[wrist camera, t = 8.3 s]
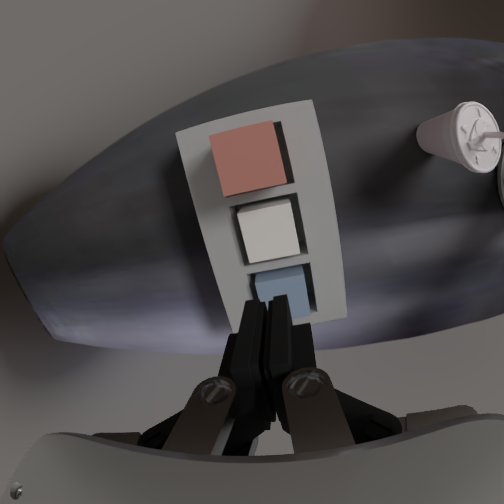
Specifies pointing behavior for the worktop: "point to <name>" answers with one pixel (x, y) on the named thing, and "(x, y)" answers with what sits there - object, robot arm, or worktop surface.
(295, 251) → the white key
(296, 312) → the blue key
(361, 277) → the worktop surface
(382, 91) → the worktop surface
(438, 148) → the smoothie
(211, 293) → the worktop surface
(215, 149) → the red key
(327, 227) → the keypad housing
